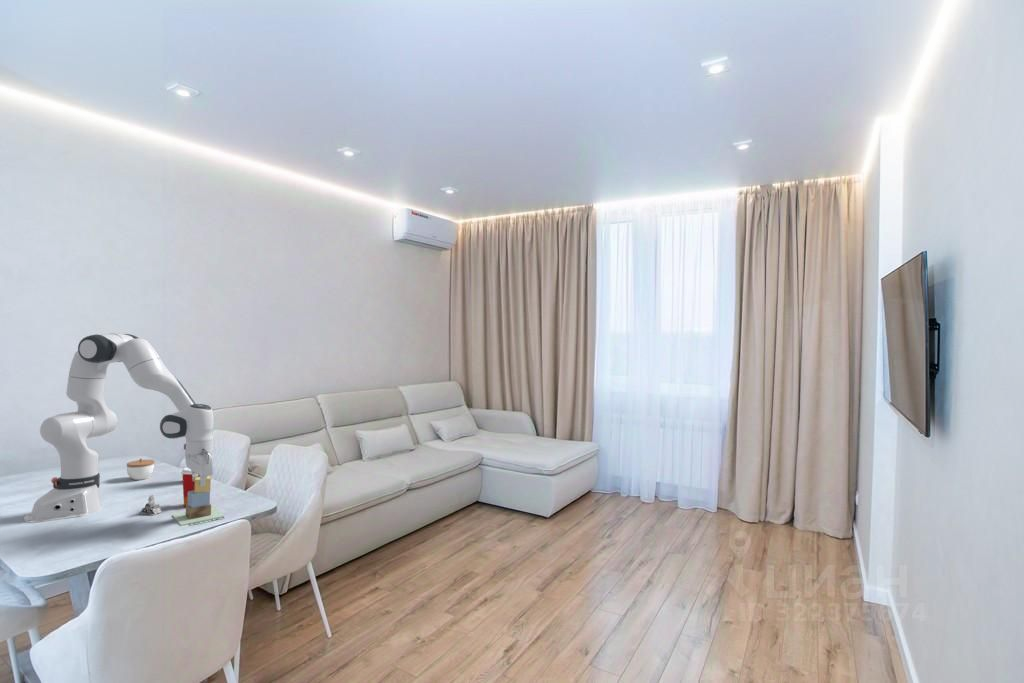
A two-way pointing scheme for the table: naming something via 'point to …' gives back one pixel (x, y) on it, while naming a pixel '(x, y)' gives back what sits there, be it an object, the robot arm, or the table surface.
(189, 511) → the base brick
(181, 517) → the sage board
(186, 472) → the coffee cup
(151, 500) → the grey lumpy mound
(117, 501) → the table surface
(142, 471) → the lidded jar
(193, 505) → the slate brick
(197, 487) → the ochre brick
